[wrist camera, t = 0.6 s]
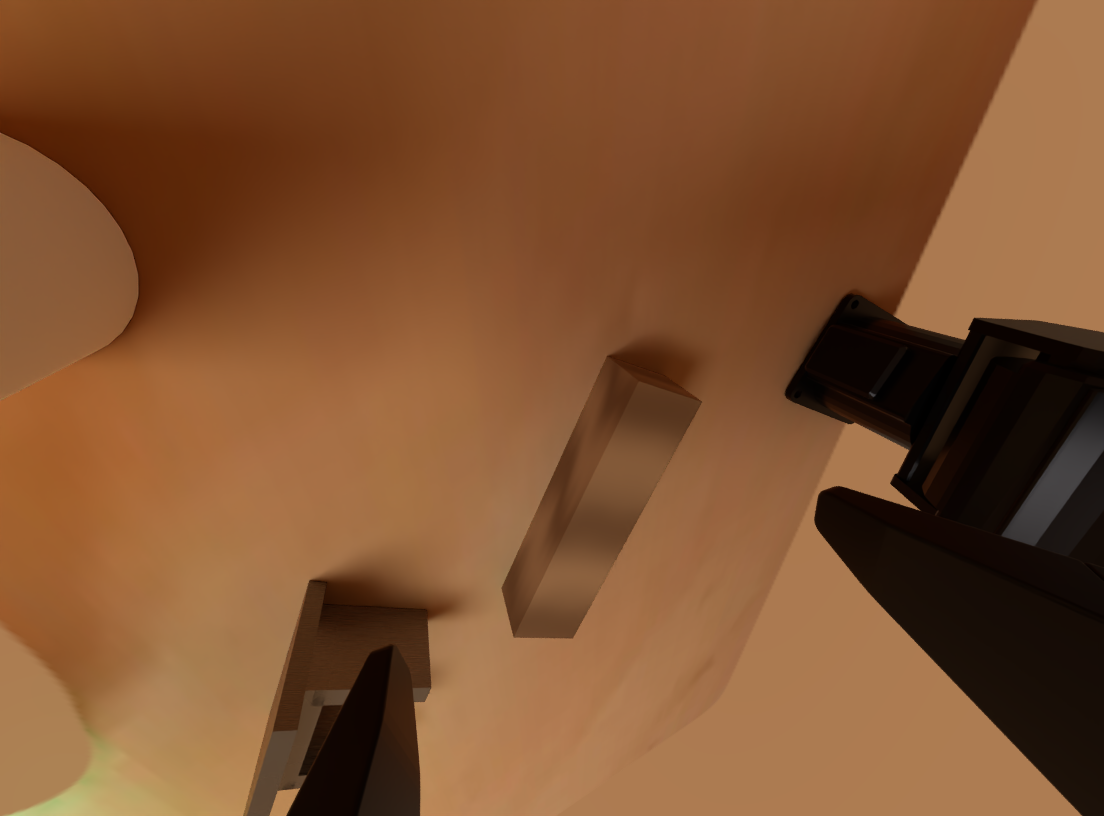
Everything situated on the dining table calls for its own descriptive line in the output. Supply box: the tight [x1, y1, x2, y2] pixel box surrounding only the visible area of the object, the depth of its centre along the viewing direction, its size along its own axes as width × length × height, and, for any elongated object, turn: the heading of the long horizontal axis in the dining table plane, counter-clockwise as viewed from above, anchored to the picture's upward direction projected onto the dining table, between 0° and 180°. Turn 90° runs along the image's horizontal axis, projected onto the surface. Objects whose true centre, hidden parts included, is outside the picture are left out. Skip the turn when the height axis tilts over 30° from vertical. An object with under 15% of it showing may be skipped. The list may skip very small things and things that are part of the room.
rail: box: [502, 356, 702, 638], centre depth 23 cm, size 15×4×4 cm, turn 157°
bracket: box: [243, 581, 431, 816], centre depth 21 cm, size 6×10×7 cm, turn 156°
